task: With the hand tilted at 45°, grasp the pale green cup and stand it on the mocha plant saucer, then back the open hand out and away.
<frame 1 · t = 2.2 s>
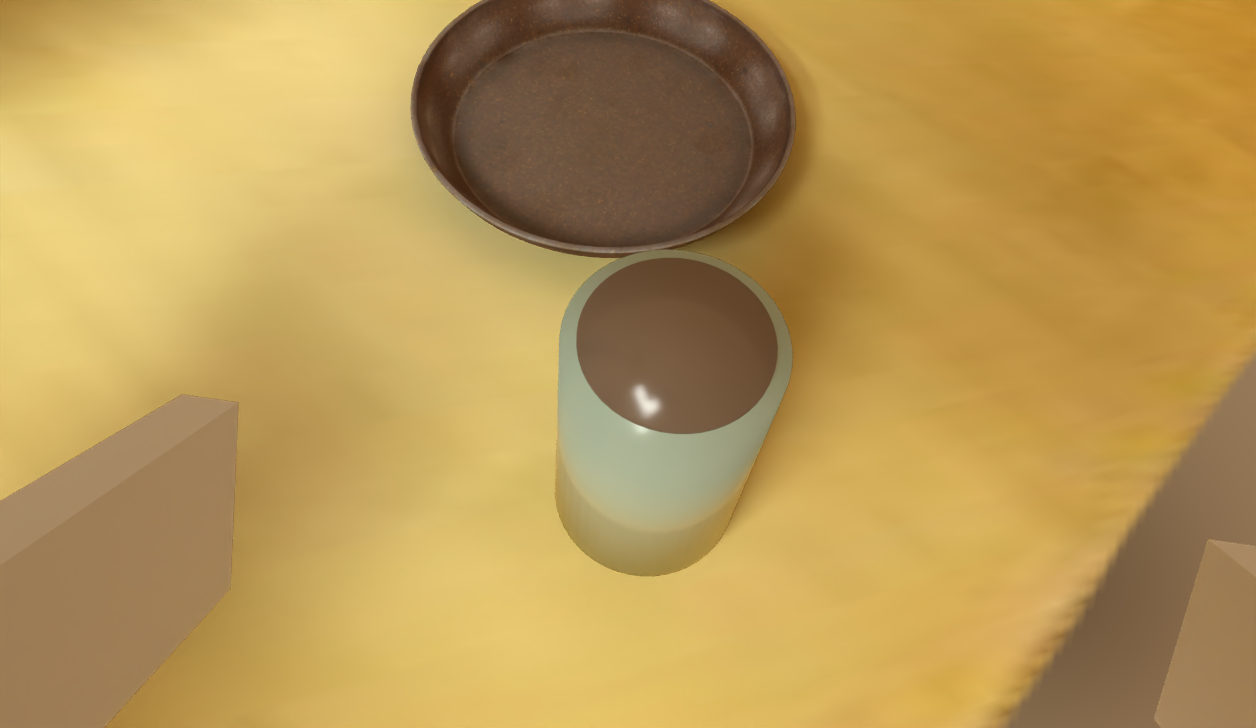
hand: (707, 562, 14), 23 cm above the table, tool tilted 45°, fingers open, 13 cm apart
pale green cup: (644, 489, 40), on the table
plant saucer: (602, 145, 49), on the table
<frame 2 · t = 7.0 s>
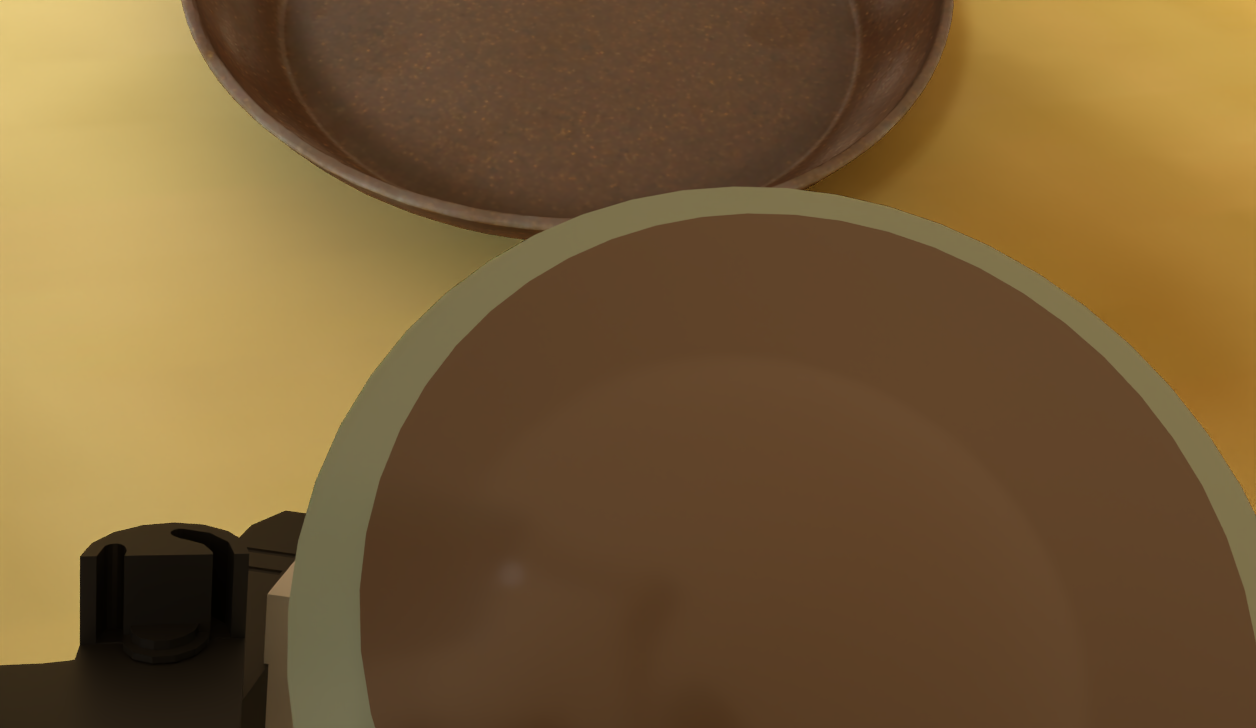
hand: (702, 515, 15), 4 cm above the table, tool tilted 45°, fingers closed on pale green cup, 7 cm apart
plant saucer: (573, 34, 26), on the table
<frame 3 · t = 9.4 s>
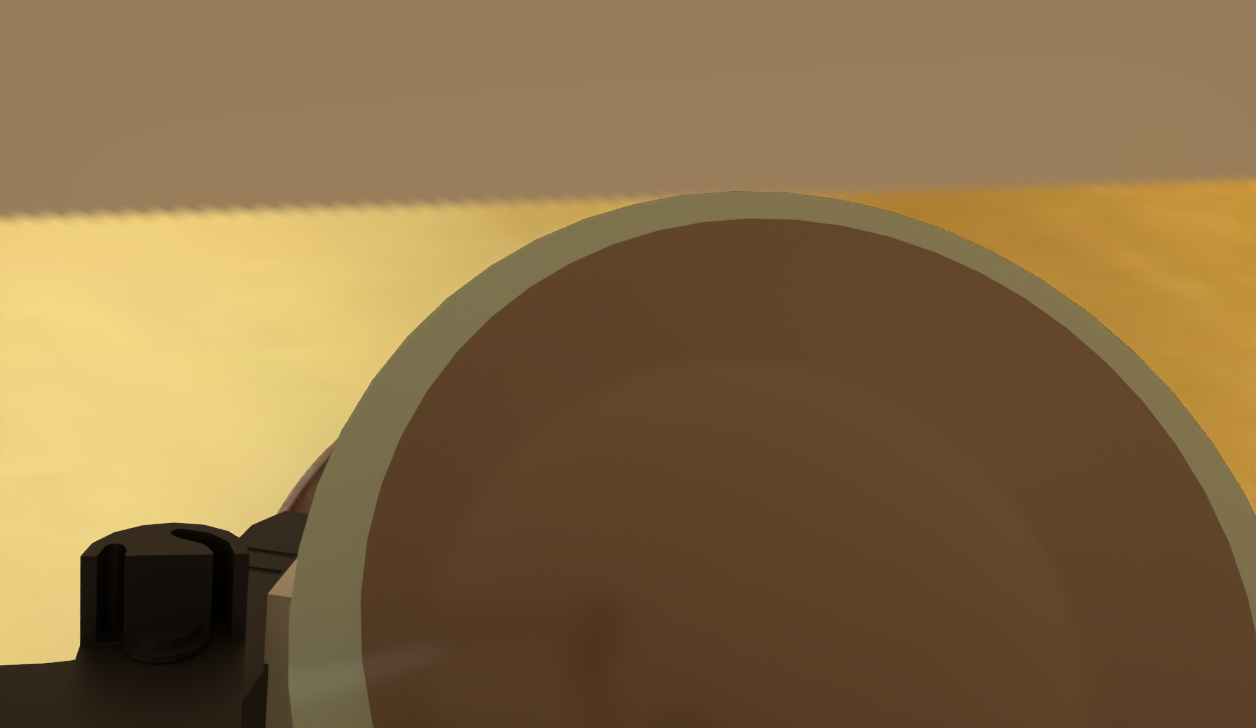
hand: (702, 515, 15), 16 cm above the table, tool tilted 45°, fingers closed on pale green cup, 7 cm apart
plant saucer: (562, 647, 31), on the table
when the fingers open (8 cm above the table, at t = 11.8 s): pale green cup drops 2 cm, resting on plant saucer.
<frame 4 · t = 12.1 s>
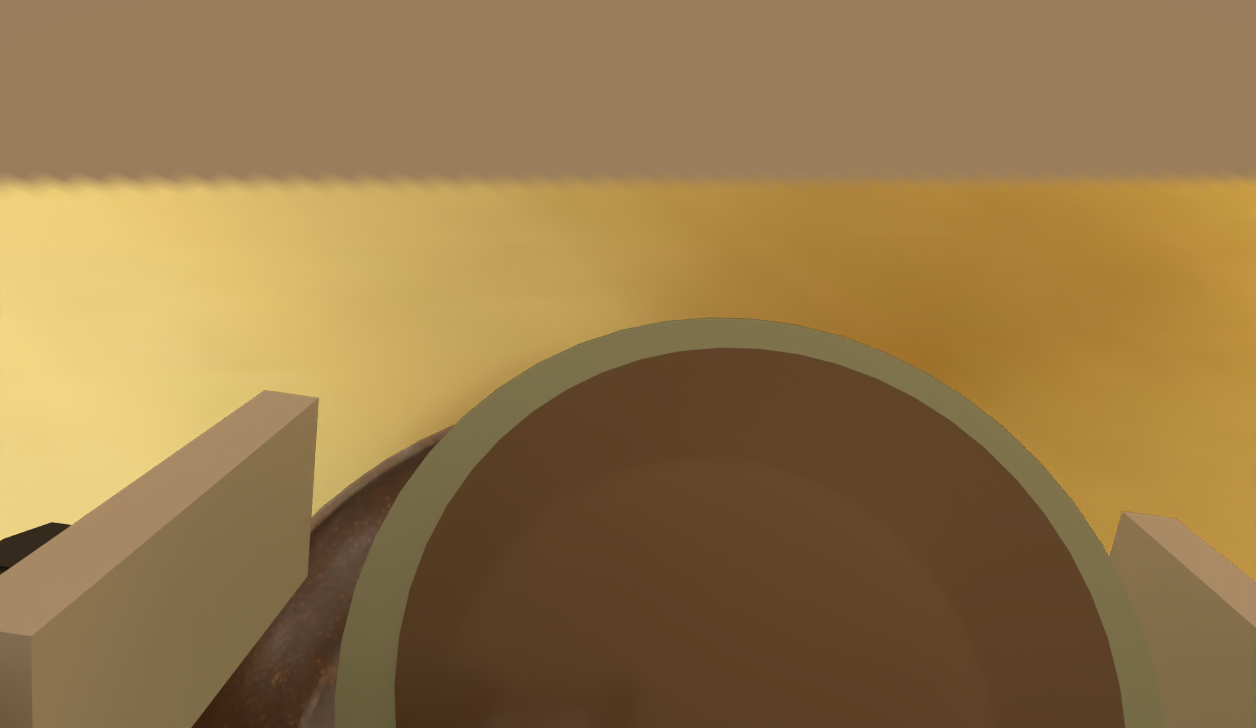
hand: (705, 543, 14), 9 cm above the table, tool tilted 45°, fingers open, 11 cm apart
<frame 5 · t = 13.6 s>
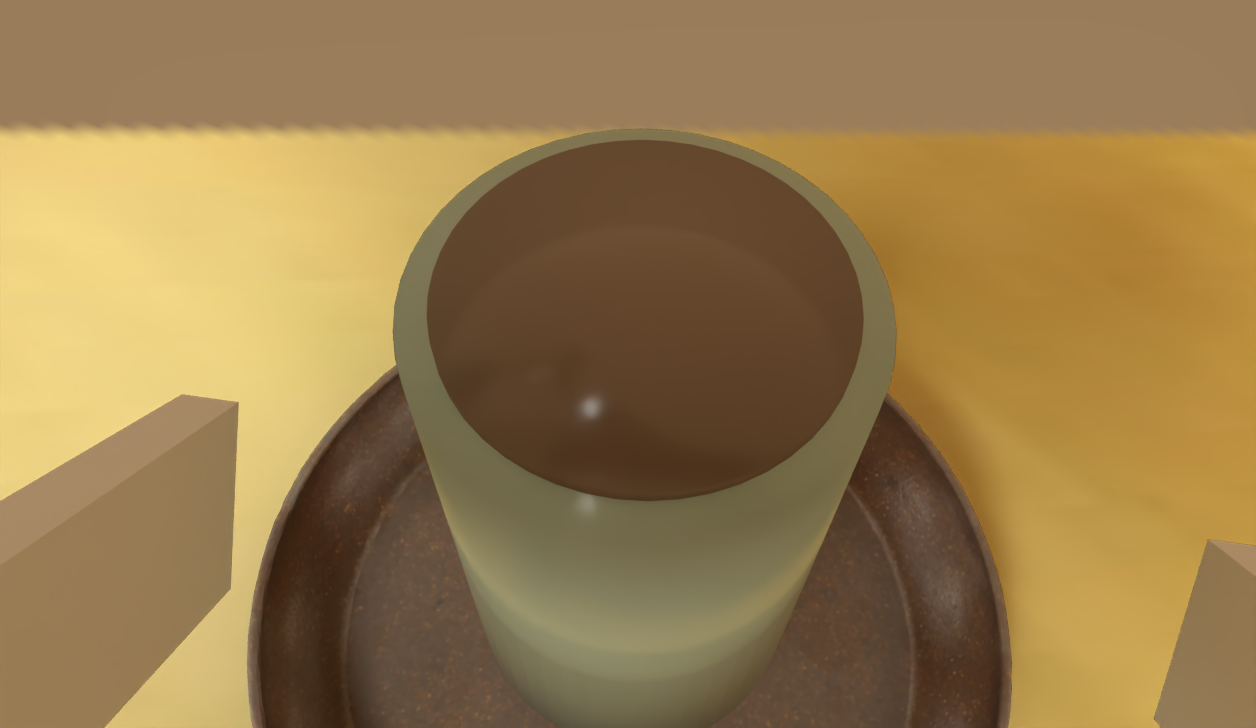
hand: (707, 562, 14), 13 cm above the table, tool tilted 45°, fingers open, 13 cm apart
pale green cup: (632, 588, 23), point 3 cm above the table, touching plant saucer
plant saucer: (628, 632, 26), on the table, touching pale green cup
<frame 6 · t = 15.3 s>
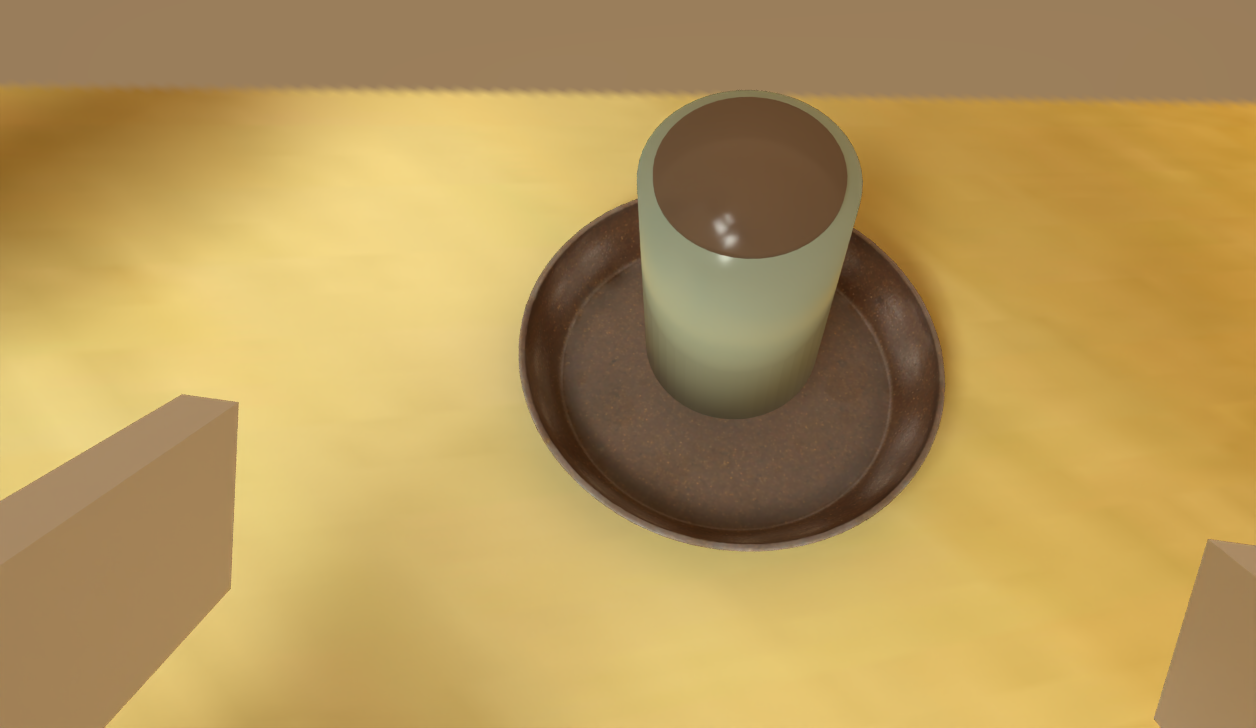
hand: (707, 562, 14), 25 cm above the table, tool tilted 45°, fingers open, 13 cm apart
pale green cup: (731, 340, 41), point 3 cm above the table, tilted 7°, touching plant saucer
plant saucer: (722, 384, 45), on the table, touching pale green cup
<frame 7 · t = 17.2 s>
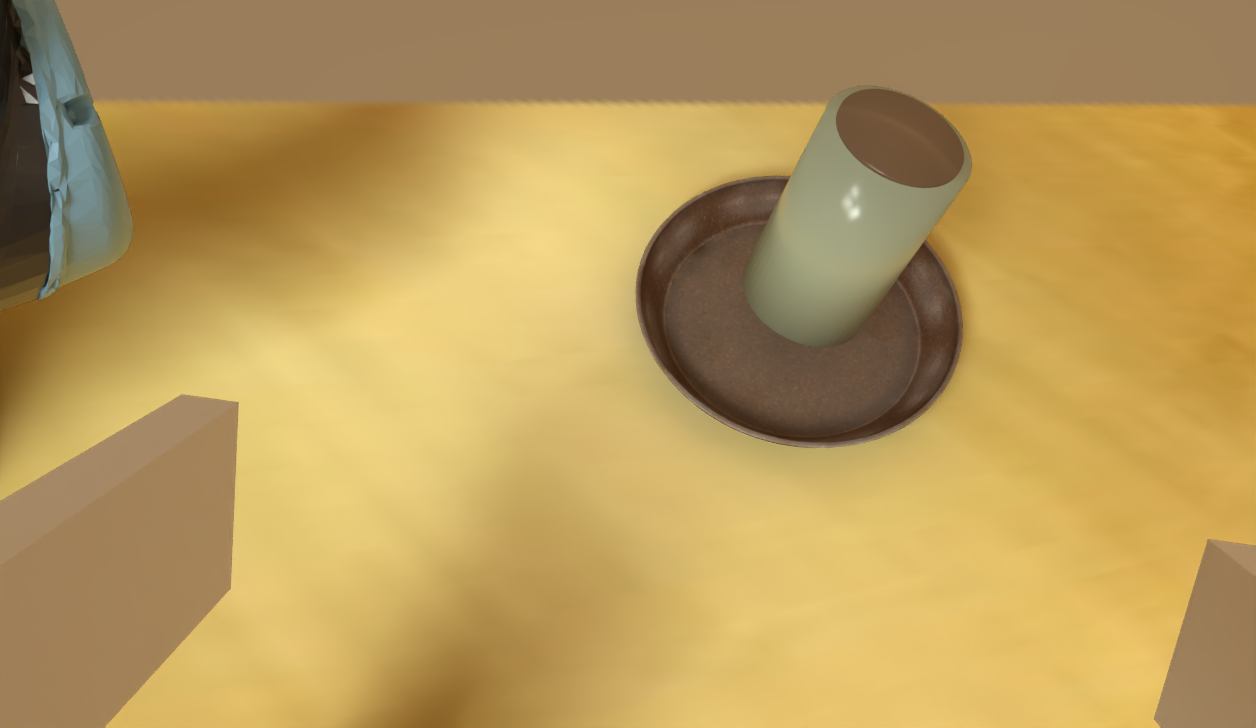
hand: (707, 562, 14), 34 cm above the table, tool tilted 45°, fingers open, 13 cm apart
pale green cup: (804, 293, 54), point 3 cm above the table, tilted 11°, touching plant saucer
plant saucer: (787, 330, 57), on the table, touching pale green cup
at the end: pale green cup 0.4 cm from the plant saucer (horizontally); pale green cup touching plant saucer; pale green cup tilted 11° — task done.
